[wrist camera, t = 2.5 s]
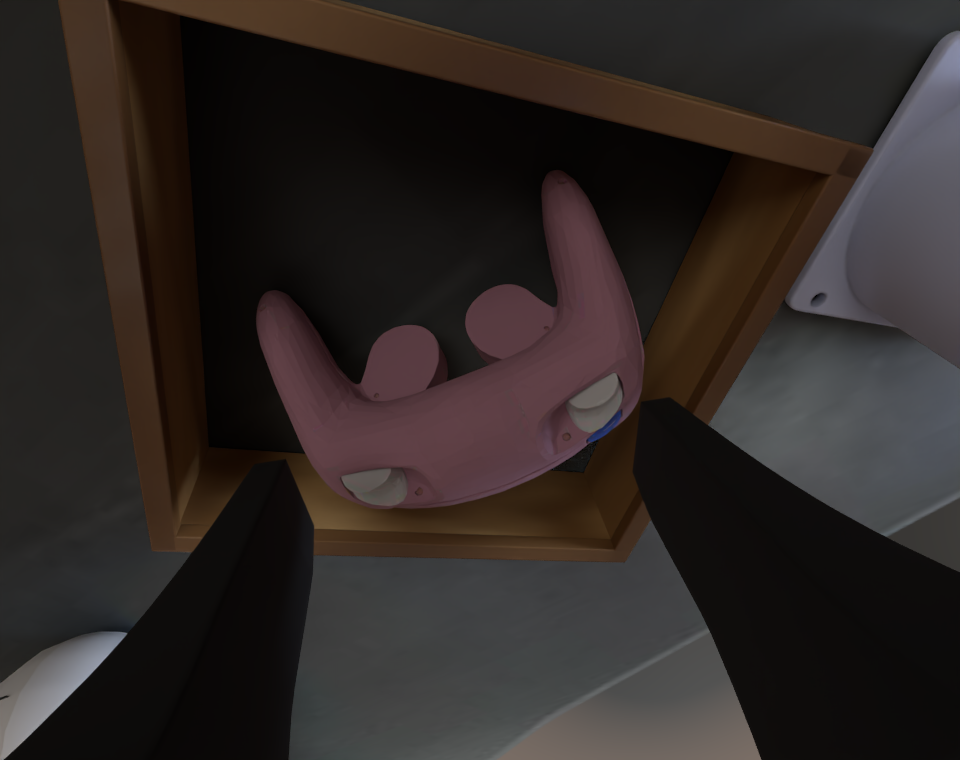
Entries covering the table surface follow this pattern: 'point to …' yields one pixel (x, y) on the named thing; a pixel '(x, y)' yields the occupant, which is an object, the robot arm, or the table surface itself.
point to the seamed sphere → (48, 684)
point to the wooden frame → (471, 62)
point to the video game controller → (470, 380)
